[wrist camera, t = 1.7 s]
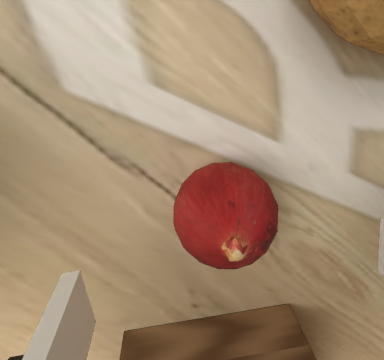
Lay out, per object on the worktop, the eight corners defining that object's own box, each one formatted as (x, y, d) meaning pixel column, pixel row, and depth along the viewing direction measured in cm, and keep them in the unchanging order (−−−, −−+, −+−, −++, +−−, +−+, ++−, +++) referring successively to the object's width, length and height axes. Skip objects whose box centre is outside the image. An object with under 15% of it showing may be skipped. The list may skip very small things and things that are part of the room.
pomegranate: (273, 166, 22) (328, 223, 15) (237, 238, 24) (269, 322, 16) (192, 134, 21) (206, 179, 14) (159, 212, 23) (156, 290, 15)
